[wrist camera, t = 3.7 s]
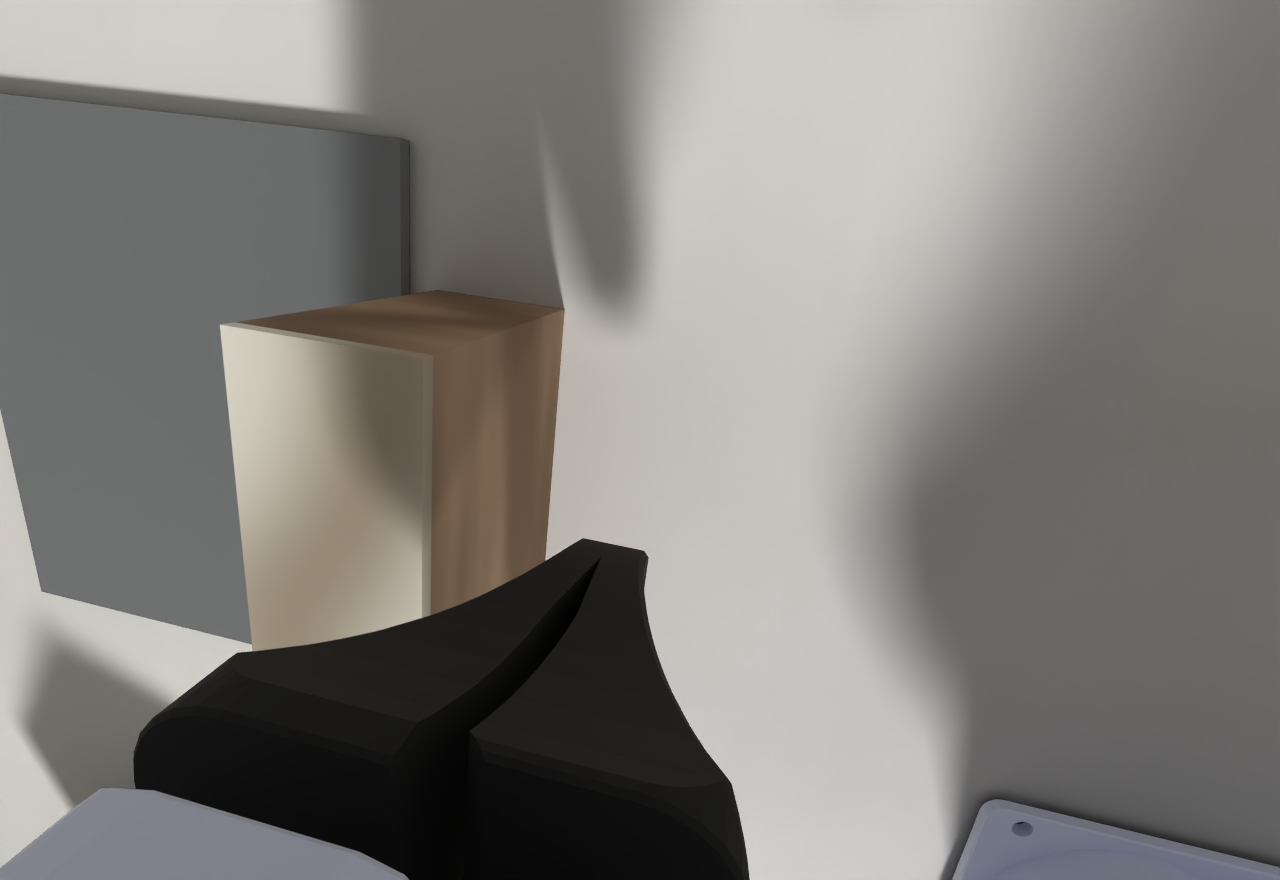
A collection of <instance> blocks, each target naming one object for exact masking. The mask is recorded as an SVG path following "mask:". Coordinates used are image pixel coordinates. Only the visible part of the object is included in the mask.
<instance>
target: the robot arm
mask: <svg viewBox="0 0 1280 880" xmlns="http://www.w3.org/2000/svg"><path fill="white" fill-rule="evenodd" d="M647 564H648V556H647V555H646V553H645V552H644V551H642V550H637V549H632V548H628V547H623V546H618V545H613V544H608V543H603V542H599V541H594V540H589V539H584V538H583V539H581V540H579V541H577V542H576V543H574V544H572V545H571V546H569V547H568V548H566V549H564V550H563V551H561V552H559V553H558V554H556V555H555V556H553V557H551V558H550V559H548V560H546V561H545V562H543V563H541V564H539V565H538V566H536V567H534V568H533V569H531V570H529V571H527V572H526V573H524V574H522V575H520V576H518V577H516V578H514V579H513V580H511V581H509V582H507V583H505V584H503V585H501V586H499V587H497V588H495V589H493V590H491V591H489V592H487V593H485V594H483V595H481V596H478V597H476V598H474V599H472V600H469V601H467V602H464V603H462V604H460V605H457V606H454V607H452V608H449V609H446V610H444V611H441V612H439V613H436V614H433V615H430V616H427V617H423V618H420V619H416V620H413V621H410V622H406V623H403V624H400V625H396V626H393V627H389V628H386V629H382V630H378V631H374V632H370V633H365V634H361V635H357V636H352V637H347V638H342V639H337V640H331V641H326V642H320V643H314V644H308V645H301V646H293V647H285V648H277V649H268V650H260V651H252V652H241V653H236V654H235V655H234V656H232V657H231V658H230V659H228V660H227V661H226V662H224V663H223V664H222V665H220V666H219V667H218V668H217V669H215V670H214V671H213V672H211V673H210V674H209V675H208V676H206V677H205V678H204V679H202V680H201V681H200V682H199V683H197V684H196V685H195V686H193V687H192V688H191V689H190V690H188V691H187V692H186V693H184V694H183V695H182V696H181V697H179V698H178V699H177V700H175V701H174V702H173V703H172V704H170V705H169V706H168V707H166V708H165V709H164V710H163V711H161V712H160V713H159V714H157V715H156V716H155V717H154V718H153V719H152V720H151V721H150V722H149V723H148V724H147V725H146V727H145V728H144V729H143V730H142V731H141V732H140V734H139V738H138V741H137V744H136V747H135V750H134V758H133V762H134V782H135V787H136V789H126V788H100V789H99V790H98V791H96V792H95V793H93V794H92V795H91V796H89V797H88V798H87V799H85V800H84V801H82V802H81V803H80V804H78V805H77V806H76V807H74V808H73V809H72V810H71V811H69V812H68V813H67V814H66V815H65V816H63V817H62V818H61V819H60V820H58V821H57V822H56V823H55V824H54V825H52V826H51V827H50V828H49V829H47V830H46V831H45V832H44V833H43V834H41V835H40V836H39V837H38V838H36V839H35V840H34V841H33V842H32V843H30V844H29V845H28V846H27V847H25V848H24V849H23V850H22V851H21V852H19V853H18V854H17V855H16V856H14V857H13V858H12V859H11V860H10V861H8V862H7V863H6V864H5V865H4V866H2V867H1V868H0V880H749V870H748V861H747V854H746V848H745V841H744V836H743V831H742V826H741V822H740V817H739V812H738V808H737V804H736V800H735V796H734V792H733V788H732V784H731V782H730V781H729V780H728V778H727V777H726V776H725V774H724V773H723V772H722V771H721V769H720V768H719V767H718V766H717V764H716V763H715V762H714V761H713V759H712V758H711V757H710V756H709V754H708V753H707V752H706V750H705V749H704V747H703V746H702V744H701V743H700V741H699V740H698V738H697V736H696V735H695V733H694V732H693V730H692V729H691V727H690V725H689V723H688V722H687V720H686V718H685V716H684V714H683V712H682V710H681V708H680V706H679V705H678V703H677V701H676V699H675V697H674V695H673V693H672V691H671V689H670V686H669V684H668V682H667V679H666V677H665V675H664V672H663V669H662V667H661V664H660V661H659V658H658V655H657V652H656V649H655V646H654V642H653V639H652V634H651V630H650V626H649V622H648V616H647V610H646V603H645V595H644V586H645V579H646V572H647ZM1018 822H1025V823H1022V824H1015V823H1018ZM952 880H1280V867H1276V866H1272V865H1268V864H1264V863H1260V862H1256V861H1252V860H1248V859H1243V858H1239V857H1235V856H1231V855H1227V854H1223V853H1219V852H1215V851H1211V850H1207V849H1203V848H1198V847H1194V846H1190V845H1186V844H1182V843H1178V842H1174V841H1170V840H1166V839H1162V838H1157V837H1153V836H1149V835H1145V834H1141V833H1137V832H1133V831H1129V830H1125V829H1121V828H1117V827H1112V826H1108V825H1104V824H1100V823H1096V822H1092V821H1088V820H1084V819H1080V818H1076V817H1072V816H1067V815H1063V814H1059V813H1055V812H1051V811H1047V810H1043V809H1039V808H1035V807H1031V806H1026V805H1022V804H1018V803H1014V802H1010V801H1006V800H999V799H995V800H990V801H988V802H986V803H984V804H983V805H982V807H981V808H980V810H979V813H978V815H977V818H976V820H975V823H974V825H973V828H972V830H971V833H970V835H969V838H968V840H967V843H966V845H965V848H964V851H963V853H962V856H961V858H960V861H959V863H958V866H957V868H956V871H955V873H954V876H953V878H952Z"/></svg>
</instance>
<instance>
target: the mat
mask: <svg viewBox="0 0 1280 880" xmlns="http://www.w3.org/2000/svg"><path fill="white" fill-rule="evenodd" d="M403 295H409V141H408V140H405V139H401V138H393V137H384V136H375V135H366V134H357V133H348V132H339V131H330V130H321V129H312V128H303V127H294V126H286V125H277V124H268V123H259V122H250V121H241V120H232V119H223V118H214V117H205V116H196V115H187V114H178V113H169V112H160V111H151V110H142V109H133V108H125V107H116V106H107V105H98V104H89V103H80V102H71V101H62V100H53V99H44V98H35V97H26V96H17V95H8V94H0V409H1V414H2V418H3V423H4V427H5V432H6V436H7V440H8V445H9V449H10V454H11V458H12V463H13V467H14V471H15V476H16V480H17V485H18V489H19V494H20V498H21V502H22V507H23V511H24V516H25V520H26V525H27V529H28V533H29V538H30V542H31V547H32V551H33V556H34V560H35V564H36V569H37V573H38V578H39V582H40V587H41V591H42V592H46V593H50V594H54V595H58V596H62V597H66V598H70V599H74V600H78V601H82V602H86V603H90V604H94V605H98V606H102V607H106V608H110V609H114V610H117V611H121V612H125V613H129V614H133V615H137V616H141V617H145V618H149V619H153V620H157V621H161V622H165V623H169V624H173V625H177V626H181V627H185V628H189V629H193V630H197V631H201V632H205V633H209V634H213V635H217V636H221V637H225V638H229V639H233V640H237V641H241V642H245V643H249V644H252V639H251V629H250V619H249V609H248V599H247V589H246V580H245V570H244V560H243V550H242V540H241V530H240V520H239V510H238V500H237V490H236V481H235V471H234V461H233V451H232V441H231V431H230V421H229V411H228V401H227V392H226V382H225V372H224V362H223V352H222V342H221V332H220V324H227V323H233V322H239V321H246V320H252V319H258V318H265V317H271V316H277V315H284V314H290V313H296V312H302V311H309V310H315V309H321V308H328V307H334V306H340V305H347V304H353V303H359V302H366V301H372V300H378V299H385V298H391V297H397V296H403Z"/></svg>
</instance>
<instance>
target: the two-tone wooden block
mask: <svg viewBox="0 0 1280 880" xmlns="http://www.w3.org/2000/svg"><path fill="white" fill-rule="evenodd" d="M564 310H565V309H559V308H552V307H546V306H539V305H532V304H526V303H519V302H512V301H505V300H499V299H492V298H485V297H479V296H472V295H465V294H459V293H452V292H445V291H439V290H435V291H429V292H422V293H416V294H410V295H403V296H397V297H391V298H385V299H378V300H372V301H366V302H359V303H353V304H347V305H340V306H334V307H328V308H321V309H315V310H309V311H302V312H296V313H290V314H284V315H277V316H271V317H265V318H258V319H252V320H246V321H239V322H233V323H227V324H220V332H221V342H222V352H223V362H224V372H225V382H226V392H227V401H228V411H229V421H230V431H231V441H232V451H233V461H234V471H235V481H236V490H237V500H238V510H239V520H240V530H241V540H242V550H243V560H244V570H245V580H246V589H247V599H248V609H249V619H250V629H251V639H252V649H253V651H260V650H268V649H277V648H285V647H293V646H301V645H308V644H314V643H320V642H326V641H331V640H337V639H342V638H347V637H352V636H357V635H361V634H365V633H370V632H374V631H378V630H382V629H386V628H389V627H393V626H396V625H400V624H403V623H406V622H410V621H413V620H416V619H420V618H423V617H427V616H430V615H433V614H436V613H439V612H441V611H444V610H446V609H449V608H452V607H454V606H457V605H460V604H462V603H464V602H467V601H469V600H472V599H474V598H476V597H478V596H481V595H483V594H485V593H487V592H489V591H491V590H493V589H495V588H497V587H499V586H501V585H503V584H505V583H507V582H509V581H511V580H513V579H514V578H516V577H518V576H520V575H522V574H524V573H526V572H527V571H529V570H531V569H533V568H534V567H536V566H538V565H539V564H541V563H543V562H545V555H546V542H547V529H548V516H549V503H550V490H551V478H552V465H553V452H554V439H555V426H556V413H557V400H558V388H559V375H560V362H561V349H562V336H563V323H564Z"/></svg>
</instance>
